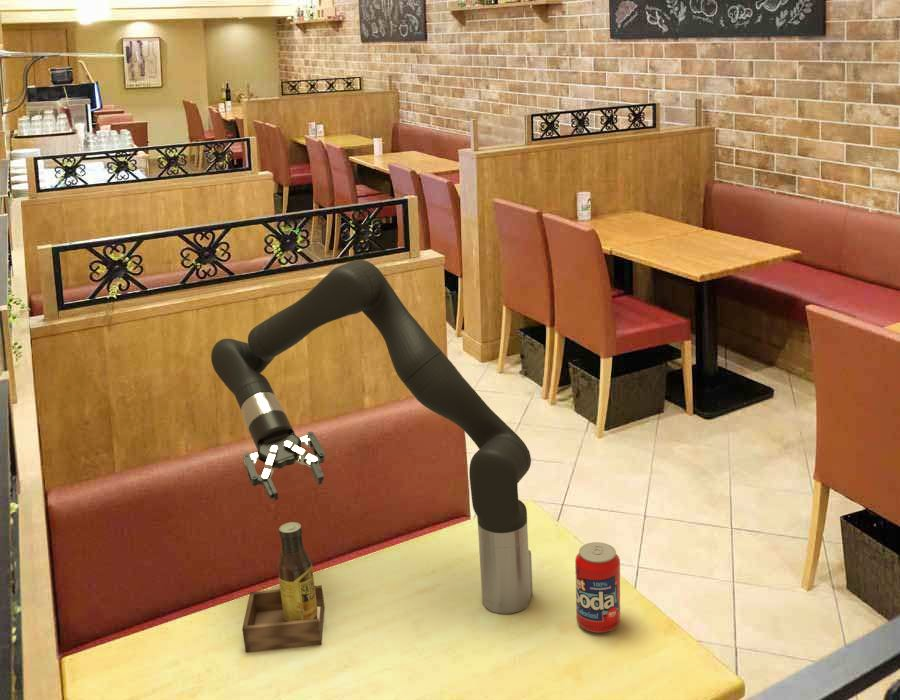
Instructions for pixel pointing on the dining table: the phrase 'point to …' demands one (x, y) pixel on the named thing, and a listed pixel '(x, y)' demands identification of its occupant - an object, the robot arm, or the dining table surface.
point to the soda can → (597, 587)
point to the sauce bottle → (296, 576)
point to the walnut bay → (279, 623)
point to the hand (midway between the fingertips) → (298, 490)
